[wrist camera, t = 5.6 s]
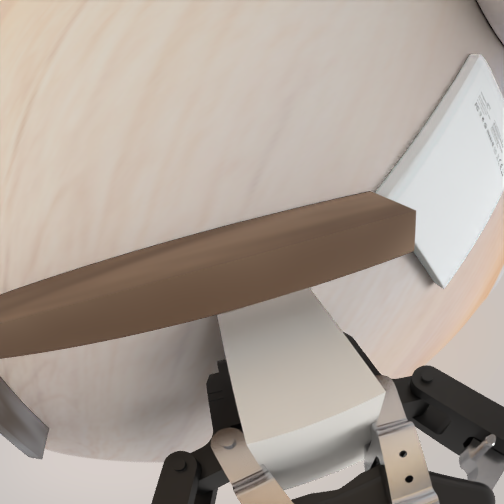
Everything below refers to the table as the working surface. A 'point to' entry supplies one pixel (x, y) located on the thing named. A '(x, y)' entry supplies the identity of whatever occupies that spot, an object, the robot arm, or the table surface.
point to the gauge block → (299, 388)
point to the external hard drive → (453, 171)
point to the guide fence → (194, 283)
